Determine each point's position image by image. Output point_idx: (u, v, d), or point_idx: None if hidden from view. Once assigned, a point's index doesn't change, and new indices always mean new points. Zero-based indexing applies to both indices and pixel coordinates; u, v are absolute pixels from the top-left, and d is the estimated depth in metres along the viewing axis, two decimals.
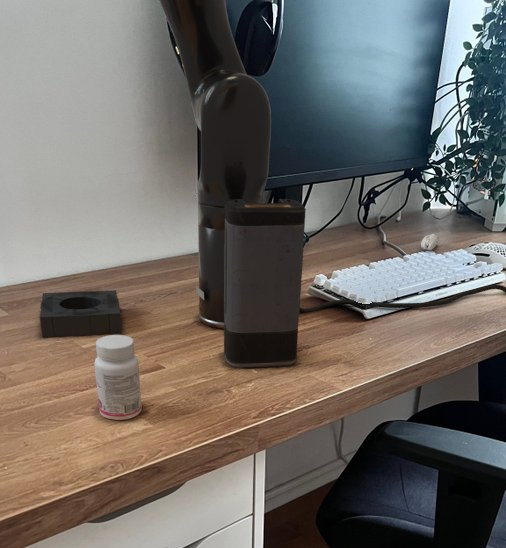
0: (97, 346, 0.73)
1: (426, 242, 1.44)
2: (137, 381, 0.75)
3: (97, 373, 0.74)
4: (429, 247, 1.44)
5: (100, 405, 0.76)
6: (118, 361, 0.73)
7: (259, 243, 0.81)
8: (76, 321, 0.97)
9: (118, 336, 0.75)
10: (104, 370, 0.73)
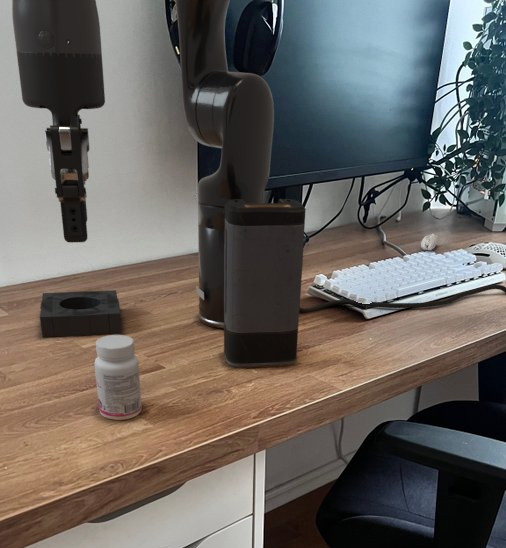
0: (97, 346, 0.73)
1: (426, 242, 1.44)
2: (137, 381, 0.75)
3: (97, 373, 0.74)
4: (429, 247, 1.44)
5: (100, 405, 0.76)
6: (118, 361, 0.73)
7: (259, 243, 0.81)
8: (76, 321, 0.97)
9: (118, 336, 0.75)
10: (104, 370, 0.73)
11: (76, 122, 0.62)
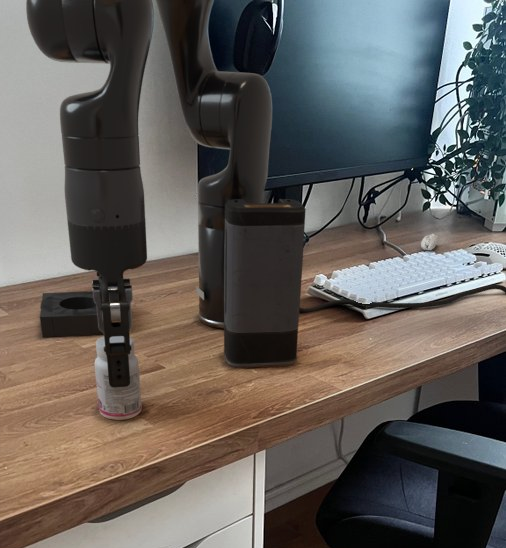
0: (97, 346, 0.73)
1: (426, 242, 1.44)
2: (137, 380, 0.75)
3: (97, 373, 0.74)
4: (429, 247, 1.44)
5: (100, 405, 0.76)
6: None
7: (259, 243, 0.81)
8: (76, 321, 0.97)
9: (118, 336, 0.75)
10: (104, 370, 0.73)
11: (122, 283, 0.67)
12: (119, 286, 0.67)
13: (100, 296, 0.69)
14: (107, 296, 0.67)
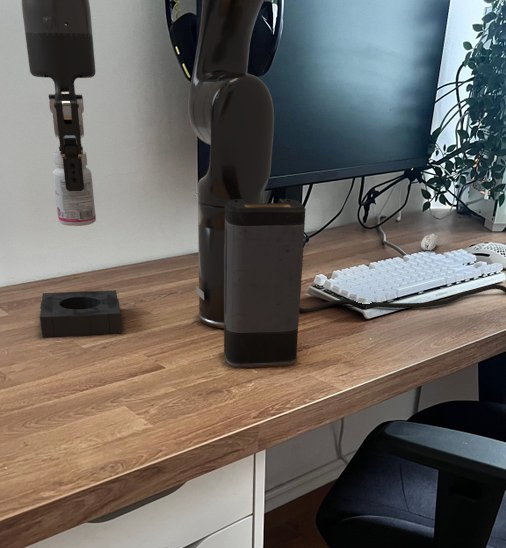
0: (54, 155, 0.84)
1: (426, 242, 1.44)
2: (90, 190, 0.87)
3: (55, 181, 0.86)
4: (429, 247, 1.44)
5: (59, 213, 0.88)
6: None
7: (259, 243, 0.81)
8: (76, 321, 0.97)
9: None
10: (60, 176, 0.85)
11: (73, 88, 0.79)
12: (70, 90, 0.79)
13: None
14: (60, 99, 0.79)
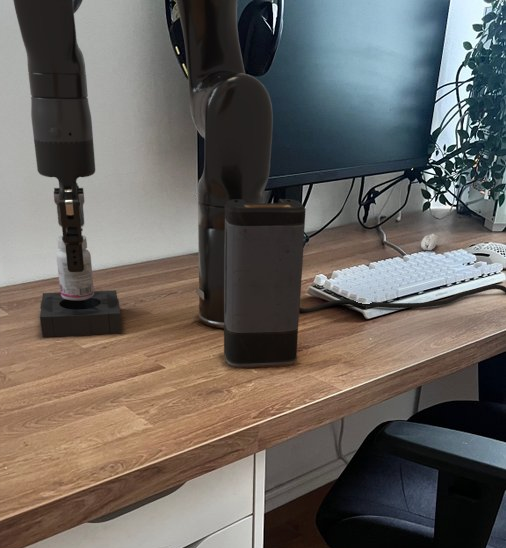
0: (58, 240, 0.95)
1: (426, 242, 1.44)
2: (89, 269, 0.98)
3: (58, 262, 0.96)
4: (429, 247, 1.44)
5: (61, 289, 0.99)
6: None
7: (259, 243, 0.81)
8: (76, 321, 0.97)
9: None
10: (63, 259, 0.96)
11: (75, 187, 0.90)
12: (73, 189, 0.89)
13: (59, 198, 0.92)
14: (64, 196, 0.89)
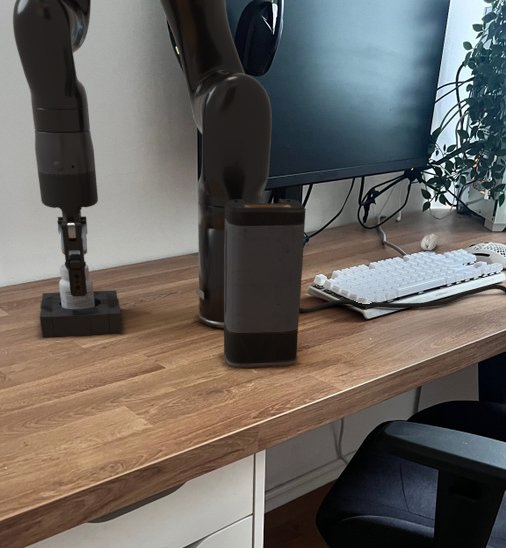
0: (60, 269, 0.97)
1: (426, 242, 1.44)
2: (91, 297, 1.00)
3: (61, 290, 0.98)
4: (429, 247, 1.44)
5: None
6: None
7: (259, 243, 0.81)
8: (76, 321, 0.97)
9: None
10: (66, 287, 0.98)
11: (78, 217, 0.92)
12: (75, 217, 0.92)
13: None
14: None
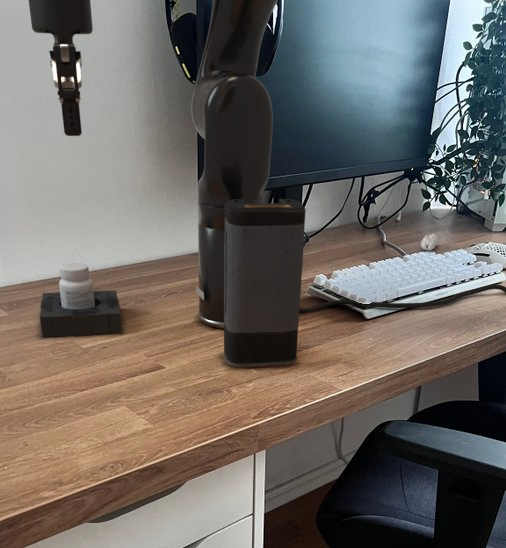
0: (60, 269, 0.97)
1: (426, 242, 1.44)
2: (91, 297, 1.00)
3: (61, 290, 0.98)
4: (429, 247, 1.44)
5: None
6: (76, 280, 0.98)
7: (259, 243, 0.81)
8: (76, 321, 0.97)
9: (77, 263, 0.99)
10: (66, 287, 0.98)
11: (72, 43, 0.85)
12: (69, 42, 0.85)
13: None
14: None
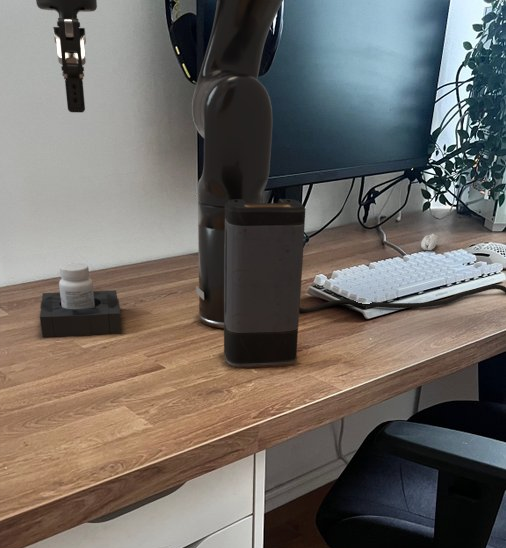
0: (60, 269, 0.97)
1: (426, 242, 1.44)
2: (91, 297, 1.00)
3: (61, 290, 0.98)
4: (429, 247, 1.44)
5: None
6: (76, 280, 0.97)
7: (259, 243, 0.81)
8: (76, 321, 0.97)
9: (77, 263, 0.99)
10: (66, 287, 0.98)
11: (76, 19, 0.86)
12: (73, 18, 0.86)
13: (59, 34, 0.88)
14: None
